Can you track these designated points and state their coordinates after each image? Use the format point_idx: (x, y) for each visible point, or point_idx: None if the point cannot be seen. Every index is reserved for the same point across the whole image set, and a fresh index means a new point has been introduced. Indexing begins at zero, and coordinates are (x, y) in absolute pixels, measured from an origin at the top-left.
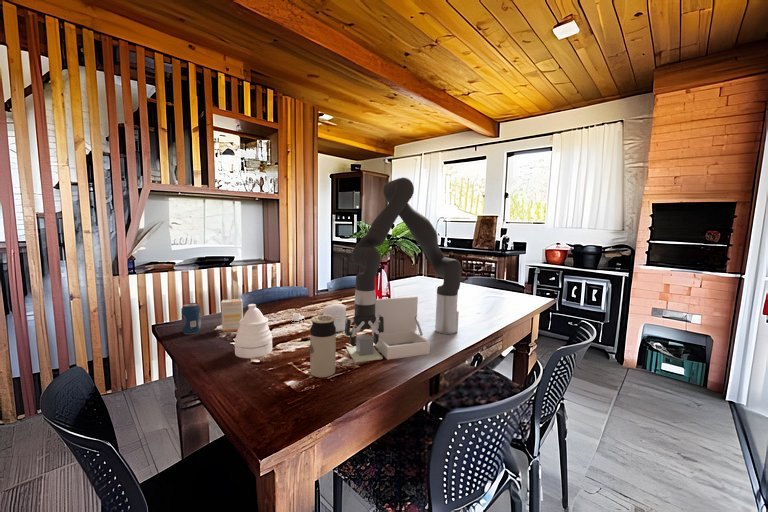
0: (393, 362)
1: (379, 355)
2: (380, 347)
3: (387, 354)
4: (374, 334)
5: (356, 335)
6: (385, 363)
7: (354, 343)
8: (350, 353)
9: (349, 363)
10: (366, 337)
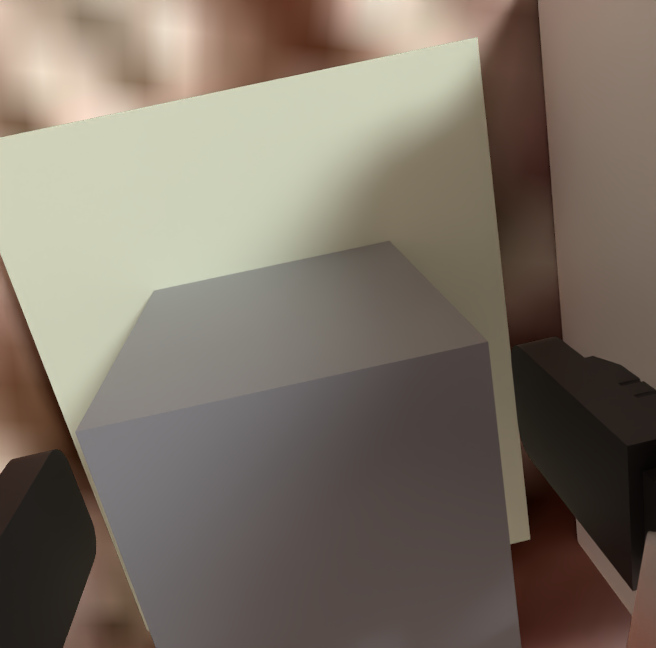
0: (622, 608)
1: (506, 482)
2: (596, 312)
3: (614, 591)
4: (617, 497)
5: (78, 438)
6: (523, 630)
7: (71, 600)
8: (56, 397)
9: (71, 630)
10: (362, 596)
